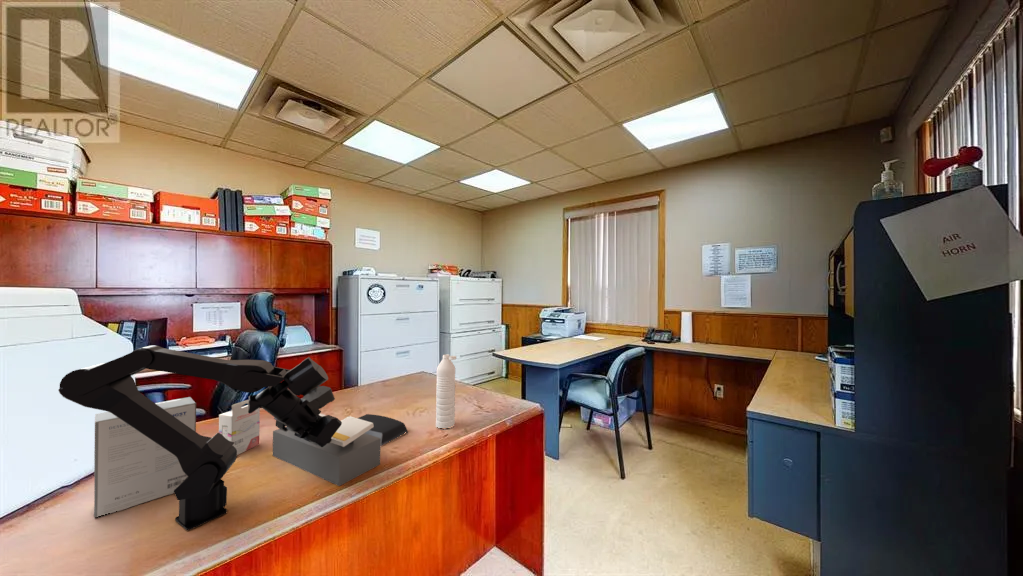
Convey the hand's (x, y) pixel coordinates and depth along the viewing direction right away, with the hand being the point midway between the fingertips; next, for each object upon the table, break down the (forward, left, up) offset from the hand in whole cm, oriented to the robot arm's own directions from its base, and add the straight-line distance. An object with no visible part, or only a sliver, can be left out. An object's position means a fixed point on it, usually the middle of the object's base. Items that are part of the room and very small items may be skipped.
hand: (329, 441), depth 86 cm
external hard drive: (+23, +13, -10) cm, 28 cm away
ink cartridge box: (-4, +36, -9) cm, 37 cm away
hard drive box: (-25, +28, -9) cm, 39 cm away
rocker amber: (+5, 0, +1) cm, 5 cm away
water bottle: (+40, -5, -9) cm, 41 cm away
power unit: (+5, +9, -9) cm, 14 cm away
